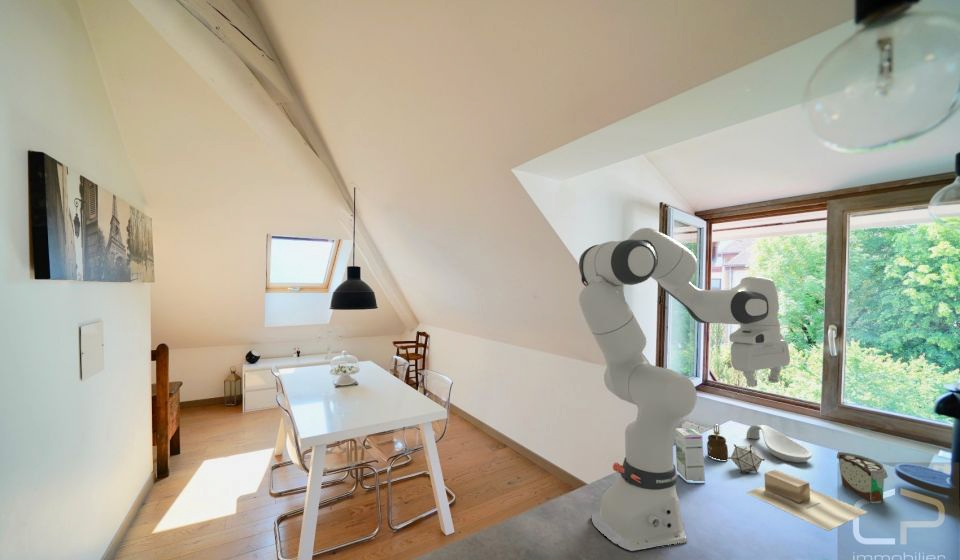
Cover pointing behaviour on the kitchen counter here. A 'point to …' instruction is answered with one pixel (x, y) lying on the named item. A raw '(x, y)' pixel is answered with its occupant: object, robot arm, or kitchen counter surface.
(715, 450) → the utensil holder
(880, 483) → the food container
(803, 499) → the block
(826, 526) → the board
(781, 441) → the spoon rest
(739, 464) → the game die
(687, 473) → the syrup box
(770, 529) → the kitchen counter surface
